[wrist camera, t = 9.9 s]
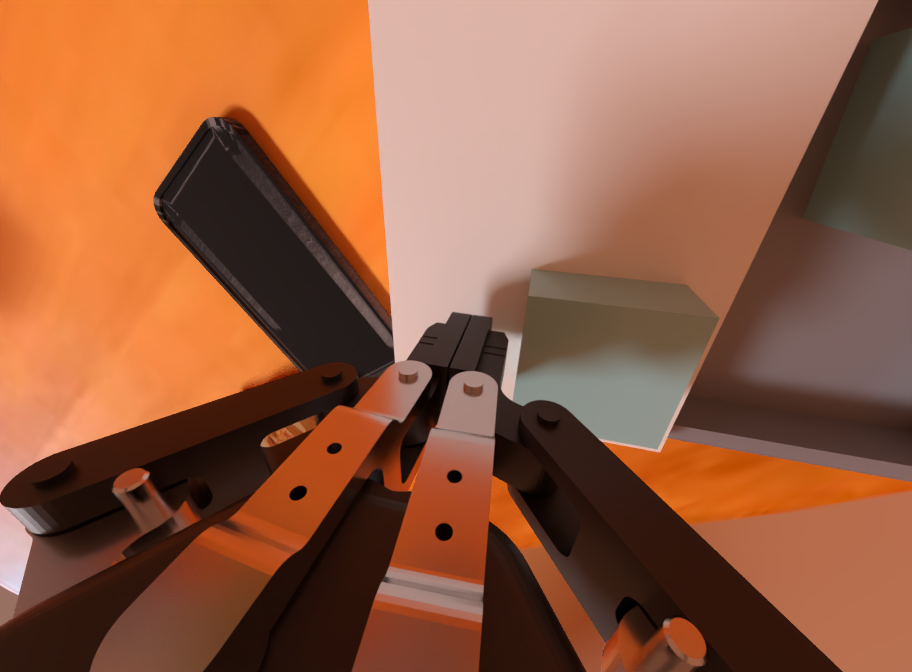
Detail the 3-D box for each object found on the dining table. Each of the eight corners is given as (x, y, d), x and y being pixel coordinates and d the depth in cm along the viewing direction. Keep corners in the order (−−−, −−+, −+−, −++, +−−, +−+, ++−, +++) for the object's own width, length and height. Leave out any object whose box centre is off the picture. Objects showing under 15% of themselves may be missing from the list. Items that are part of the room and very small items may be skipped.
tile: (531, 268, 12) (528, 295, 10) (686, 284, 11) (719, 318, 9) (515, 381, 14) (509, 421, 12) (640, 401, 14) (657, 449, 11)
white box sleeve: (414, -11, 12) (362, -71, 9) (803, -32, 10) (937, -124, 6) (423, 359, 20) (398, 403, 17) (638, 394, 18) (660, 452, 14)
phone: (215, 104, 15) (413, 359, 19) (234, 107, 16) (419, 350, 20) (146, 206, 18) (327, 403, 23) (165, 203, 19) (336, 392, 24)
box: (803, -32, 10) (892, -92, 7) (1394, -63, 8) (1813, -166, 5) (638, 394, 18) (653, 435, 15) (905, 436, 16) (974, 493, 13)
